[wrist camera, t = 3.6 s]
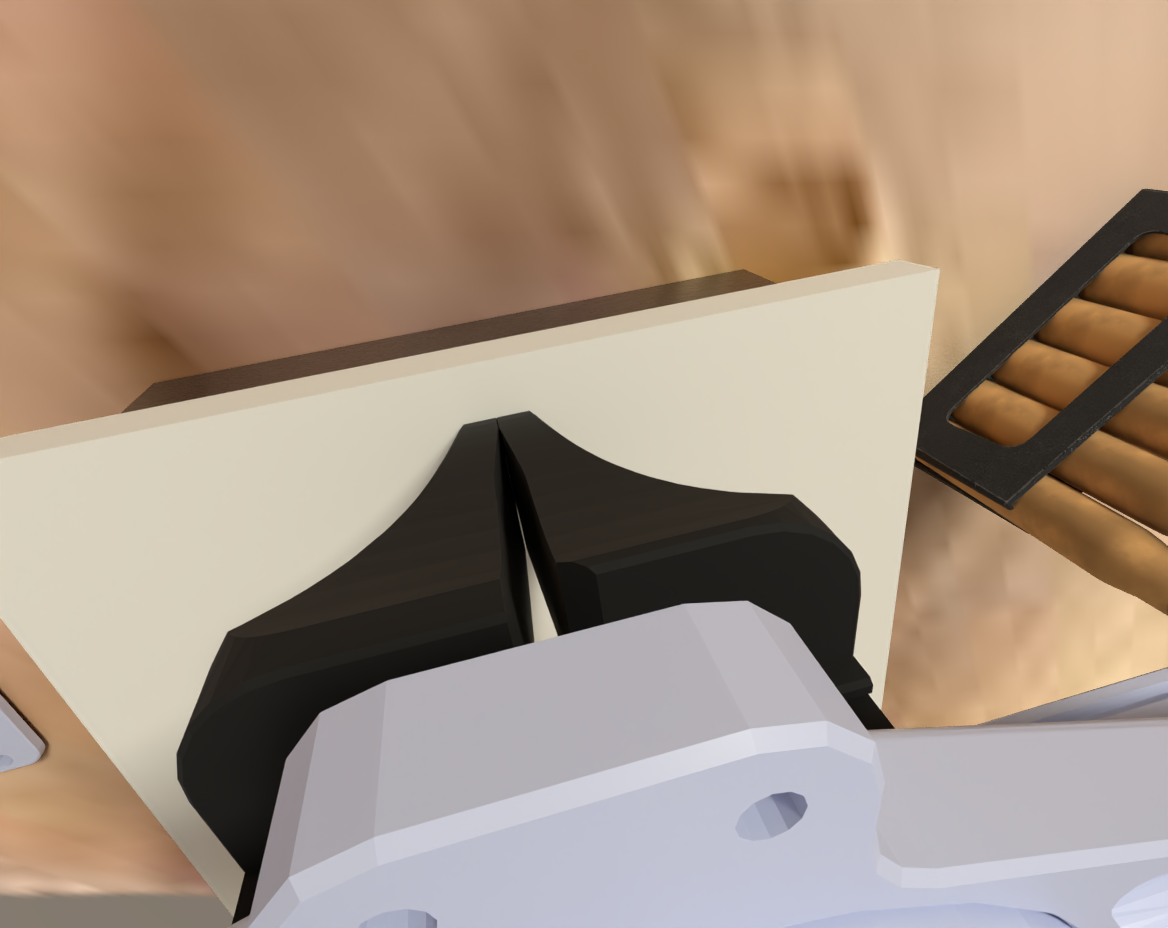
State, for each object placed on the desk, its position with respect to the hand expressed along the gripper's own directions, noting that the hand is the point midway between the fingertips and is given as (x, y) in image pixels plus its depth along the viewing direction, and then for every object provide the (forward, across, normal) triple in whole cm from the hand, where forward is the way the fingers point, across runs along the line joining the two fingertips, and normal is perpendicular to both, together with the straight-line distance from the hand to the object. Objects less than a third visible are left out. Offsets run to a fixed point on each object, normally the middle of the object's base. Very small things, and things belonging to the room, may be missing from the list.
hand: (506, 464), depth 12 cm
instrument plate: (+1, 0, +6) cm, 6 cm away
